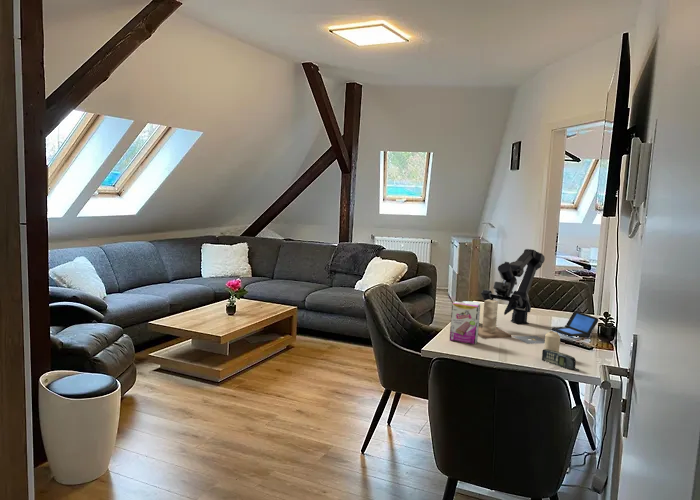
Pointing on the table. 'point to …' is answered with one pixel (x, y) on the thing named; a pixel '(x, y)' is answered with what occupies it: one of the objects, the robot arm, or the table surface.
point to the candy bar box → (464, 322)
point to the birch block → (490, 316)
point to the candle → (552, 341)
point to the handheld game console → (578, 325)
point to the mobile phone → (559, 359)
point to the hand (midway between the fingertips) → (495, 312)
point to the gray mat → (530, 339)
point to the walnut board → (497, 334)
